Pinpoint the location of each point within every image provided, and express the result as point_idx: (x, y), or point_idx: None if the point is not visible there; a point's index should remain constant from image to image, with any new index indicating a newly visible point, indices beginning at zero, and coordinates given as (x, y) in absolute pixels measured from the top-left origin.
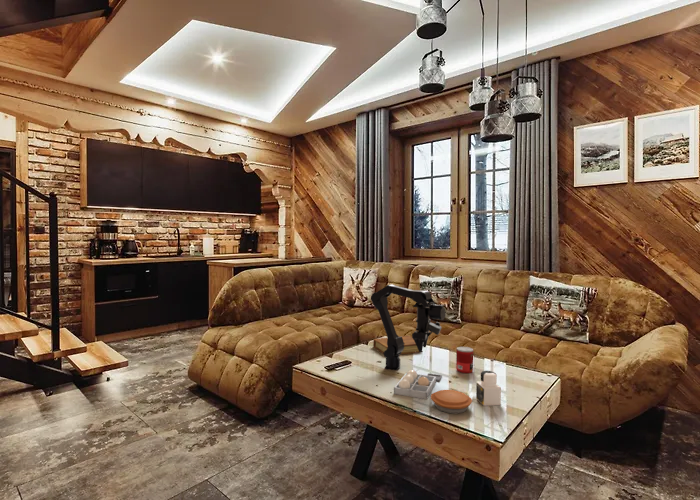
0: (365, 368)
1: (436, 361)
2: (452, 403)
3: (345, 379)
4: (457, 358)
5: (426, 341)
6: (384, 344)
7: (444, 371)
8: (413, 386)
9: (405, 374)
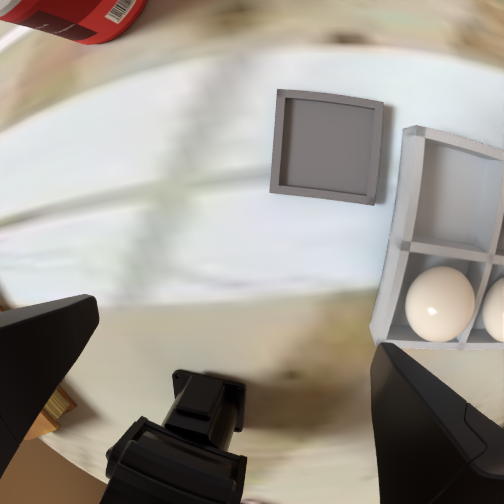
0: (267, 474)
1: (24, 185)
2: None
3: None
4: (76, 5)
5: (29, 326)
6: (42, 429)
7: (150, 96)
8: None
9: (413, 344)
